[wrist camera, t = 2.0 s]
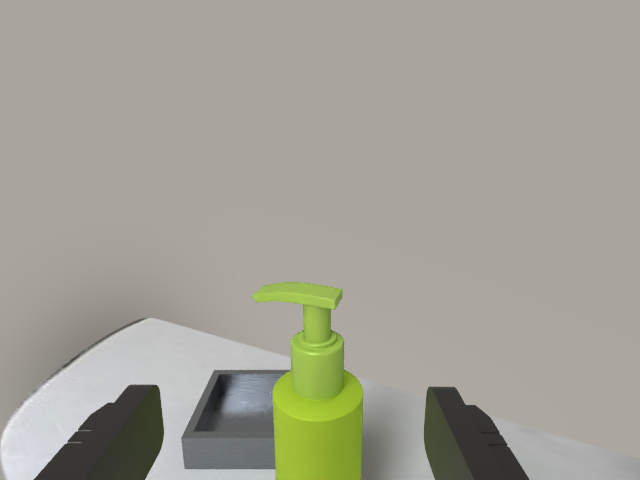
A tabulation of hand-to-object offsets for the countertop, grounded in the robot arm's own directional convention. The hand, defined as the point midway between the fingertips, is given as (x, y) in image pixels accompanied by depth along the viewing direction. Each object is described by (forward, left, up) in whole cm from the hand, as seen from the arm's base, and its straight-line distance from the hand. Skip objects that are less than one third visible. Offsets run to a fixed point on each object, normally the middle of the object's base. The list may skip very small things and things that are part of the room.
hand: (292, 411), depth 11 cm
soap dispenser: (0, -12, -21) cm, 24 cm away
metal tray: (+6, -24, -21) cm, 32 cm away
